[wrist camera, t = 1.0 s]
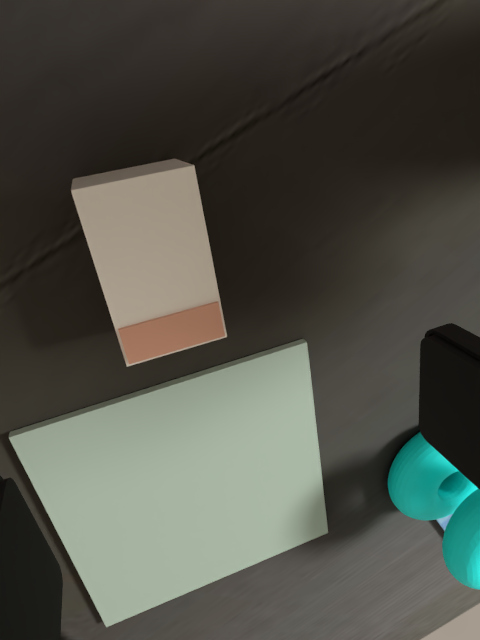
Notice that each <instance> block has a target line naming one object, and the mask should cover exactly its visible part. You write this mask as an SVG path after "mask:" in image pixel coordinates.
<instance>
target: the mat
mask: <svg viewBox="0 0 480 640" xmlns="http://www.w3.org/2000/svg"><path fill="white" fill-rule="evenodd" d="M9 440H10V442H11V443H12V445H13V447H14V449H15V451H16V453H17V455H18V457H19V459H20V461H21V463H22V465H23V467H24V469H25V471H26V473H27V474H28V476H29V478H30V480H31V482H32V484H33V486H34V488H35V490H36V492H37V494H38V496H39V498H40V500H41V502H42V504H43V505H44V507H45V509H46V511H47V513H48V515H49V517H50V519H51V521H52V523H53V525H54V527H55V529H56V531H57V533H58V535H59V536H60V538H61V540H62V542H63V544H64V546H65V548H66V550H67V552H68V554H69V556H70V558H71V560H72V562H73V564H74V566H75V567H76V569H77V571H78V573H79V575H80V577H81V579H82V581H83V583H84V585H85V587H86V589H87V591H88V593H89V595H90V596H91V598H92V600H93V602H94V604H95V606H96V608H97V610H98V612H99V614H100V616H101V618H102V620H103V622H104V624H105V626H106V627H108V626H110V625H113V624H115V623H117V622H120V621H122V620H124V619H127V618H129V617H132V616H134V615H136V614H139V613H141V612H143V611H146V610H148V609H150V608H153V607H155V606H157V605H160V604H162V603H164V602H167V601H169V600H171V599H174V598H176V597H178V596H181V595H183V594H186V593H188V592H190V591H193V590H195V589H197V588H200V587H202V586H204V585H207V584H209V583H211V582H214V581H216V580H218V579H221V578H223V577H225V576H228V575H230V574H232V573H235V572H237V571H240V570H242V569H244V568H247V567H249V566H251V565H254V564H256V563H258V562H261V561H263V560H265V559H268V558H270V557H272V556H275V555H277V554H279V553H282V552H284V551H286V550H289V549H291V548H294V547H296V546H298V545H301V544H303V543H305V542H308V541H310V540H312V539H315V538H317V537H319V536H322V535H324V534H326V533H328V526H327V517H326V509H325V500H324V491H323V482H322V473H321V464H320V455H319V446H318V437H317V428H316V419H315V410H314V401H313V392H312V383H311V374H310V365H309V356H308V347H307V342H306V341H305V340H304V339H300V340H297V341H294V342H291V343H288V344H284V345H281V346H278V347H275V348H272V349H269V350H266V351H262V352H259V353H256V354H253V355H250V356H247V357H244V358H240V359H237V360H234V361H231V362H228V363H225V364H222V365H218V366H215V367H212V368H209V369H206V370H203V371H200V372H196V373H193V374H190V375H187V376H184V377H181V378H178V379H174V380H171V381H168V382H165V383H162V384H159V385H155V386H152V387H149V388H146V389H143V390H140V391H137V392H133V393H130V394H127V395H124V396H121V397H118V398H115V399H111V400H108V401H105V402H102V403H99V404H96V405H93V406H89V407H86V408H83V409H80V410H77V411H74V412H71V413H67V414H64V415H61V416H58V417H55V418H52V419H49V420H45V421H42V422H39V423H36V424H33V425H30V426H26V427H23V428H20V429H17V430H14V431H11V432H10V434H9Z"/></svg>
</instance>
